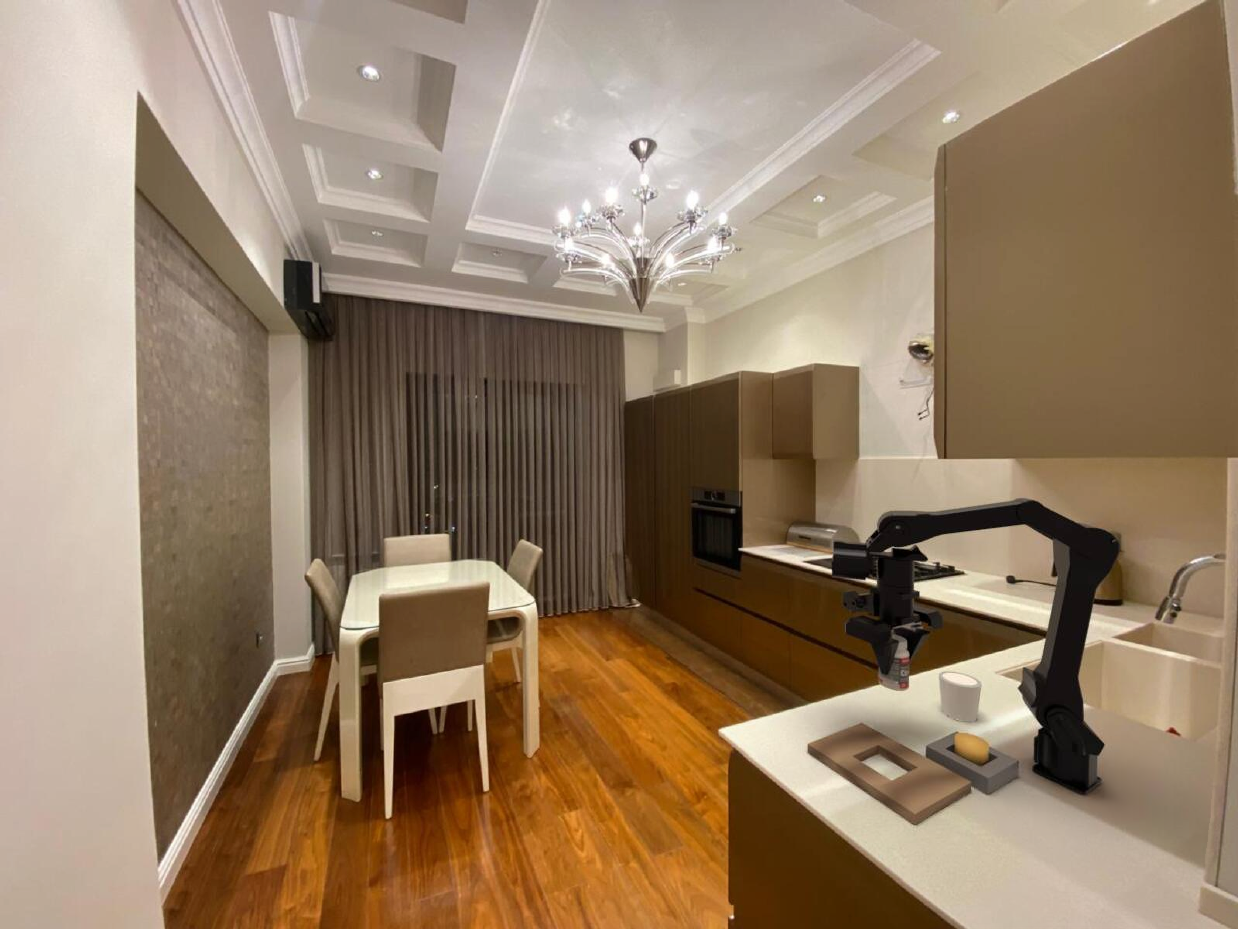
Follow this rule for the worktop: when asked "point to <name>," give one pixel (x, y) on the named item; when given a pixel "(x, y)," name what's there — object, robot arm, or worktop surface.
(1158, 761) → the worktop surface
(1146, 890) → the worktop surface
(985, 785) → the button collar
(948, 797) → the brown wooden rectangular frame
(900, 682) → the pill bottle
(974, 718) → the white cup
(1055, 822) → the worktop surface
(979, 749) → the button
